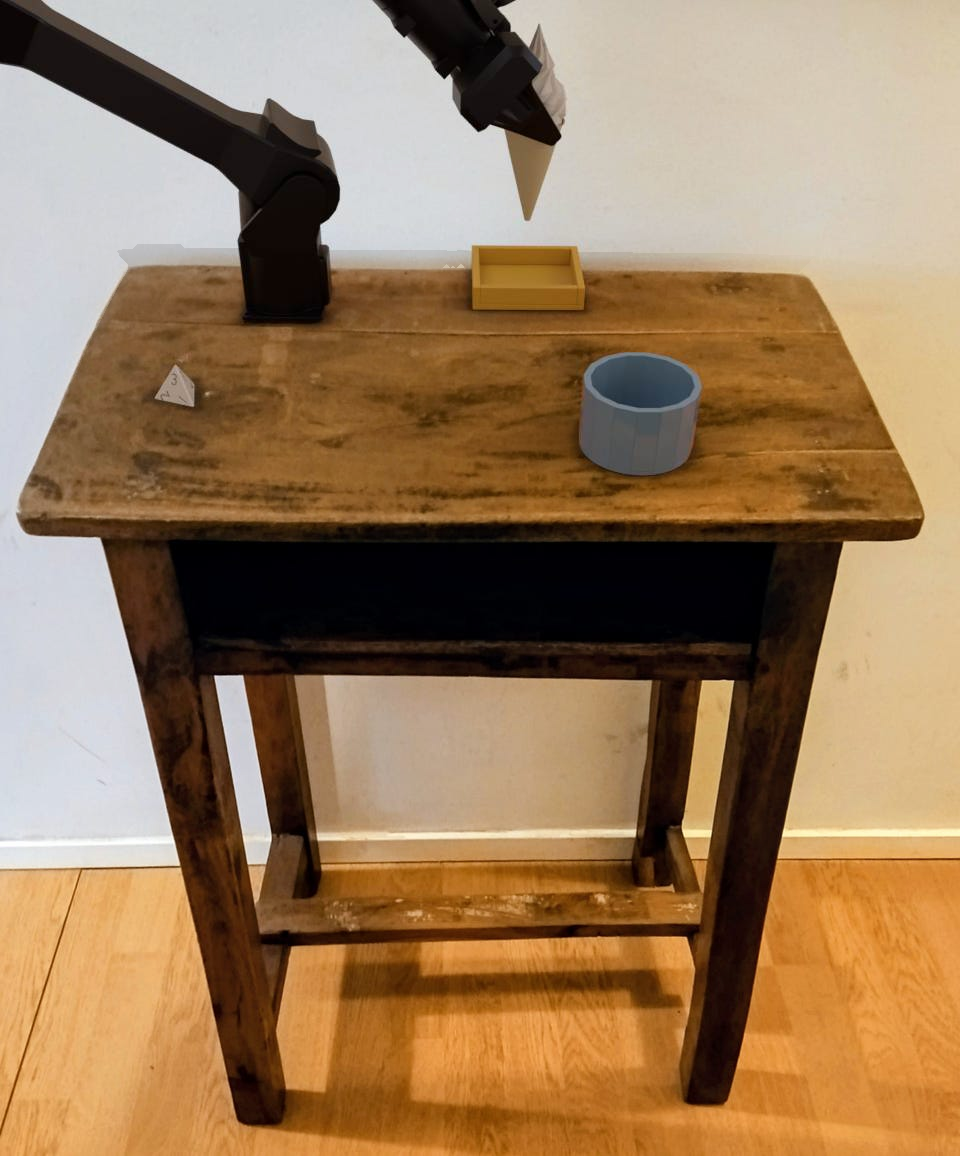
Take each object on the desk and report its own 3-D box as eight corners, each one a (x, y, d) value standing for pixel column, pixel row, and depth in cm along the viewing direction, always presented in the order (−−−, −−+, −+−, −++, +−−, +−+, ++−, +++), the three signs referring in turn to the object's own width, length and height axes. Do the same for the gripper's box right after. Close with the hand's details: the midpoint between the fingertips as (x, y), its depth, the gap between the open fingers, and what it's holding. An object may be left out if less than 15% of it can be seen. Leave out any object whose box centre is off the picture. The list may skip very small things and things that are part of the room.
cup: (583, 475, 77) (589, 411, 74) (574, 413, 83) (579, 351, 80) (699, 475, 77) (710, 412, 74) (682, 413, 83) (691, 352, 80)
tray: (472, 309, 95) (472, 287, 94) (471, 266, 102) (471, 245, 100) (583, 310, 96) (585, 288, 94) (575, 267, 102) (577, 245, 100)
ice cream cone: (570, 220, 95) (586, 24, 85) (530, 237, 92) (541, 37, 82) (525, 202, 97) (535, 10, 88) (484, 219, 94) (489, 22, 85)
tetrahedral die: (214, 403, 86) (216, 363, 85) (194, 410, 83) (196, 369, 82) (173, 394, 87) (175, 355, 86) (152, 401, 84) (153, 360, 83)
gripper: (517, -90, 72) (664, 89, 80) (464, -140, 86) (595, 17, 94) (394, 48, 75) (547, 204, 84) (363, -22, 89) (497, 119, 98)
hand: (549, 129), depth 90 cm, fingers closed on ice cream cone, 5 cm apart
